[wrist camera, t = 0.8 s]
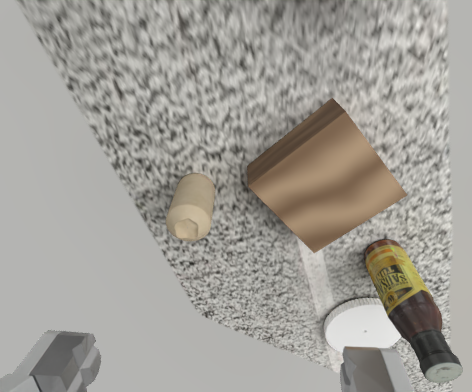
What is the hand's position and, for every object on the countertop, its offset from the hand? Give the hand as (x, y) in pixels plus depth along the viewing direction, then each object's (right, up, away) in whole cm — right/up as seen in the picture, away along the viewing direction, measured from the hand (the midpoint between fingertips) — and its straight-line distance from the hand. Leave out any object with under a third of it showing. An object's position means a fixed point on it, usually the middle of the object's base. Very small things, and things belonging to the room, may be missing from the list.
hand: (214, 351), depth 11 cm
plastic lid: (+24, -18, +51) cm, 59 cm away
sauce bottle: (+24, -4, +43) cm, 49 cm away
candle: (-5, +6, +37) cm, 38 cm away
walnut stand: (+12, +9, +35) cm, 39 cm away
